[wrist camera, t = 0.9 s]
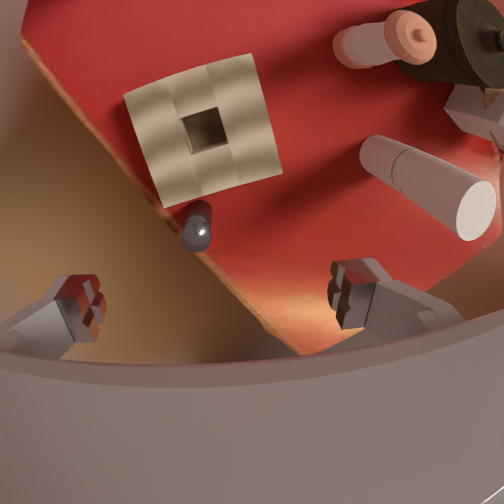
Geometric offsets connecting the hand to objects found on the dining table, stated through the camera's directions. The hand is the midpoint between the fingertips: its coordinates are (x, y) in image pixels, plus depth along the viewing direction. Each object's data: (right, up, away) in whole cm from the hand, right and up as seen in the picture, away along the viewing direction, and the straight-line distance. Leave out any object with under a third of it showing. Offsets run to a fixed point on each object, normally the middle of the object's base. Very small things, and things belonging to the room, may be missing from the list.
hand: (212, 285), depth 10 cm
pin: (-7, +8, +38) cm, 40 cm away
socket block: (-6, +20, +32) cm, 38 cm away
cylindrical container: (+23, +18, +36) cm, 47 cm away
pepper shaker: (+17, +33, +27) cm, 46 cm away
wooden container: (+31, +38, +26) cm, 55 cm away
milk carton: (+42, +30, +32) cm, 61 cm away
